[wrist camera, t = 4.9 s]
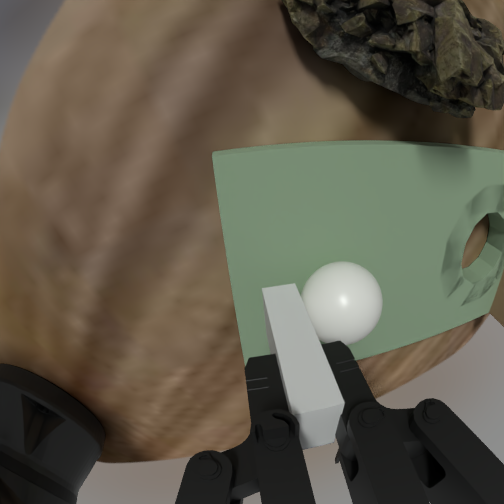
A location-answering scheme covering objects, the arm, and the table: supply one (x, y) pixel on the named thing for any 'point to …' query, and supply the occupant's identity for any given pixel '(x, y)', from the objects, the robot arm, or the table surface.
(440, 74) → the rock
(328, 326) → the ball
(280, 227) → the green
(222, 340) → the table surface
